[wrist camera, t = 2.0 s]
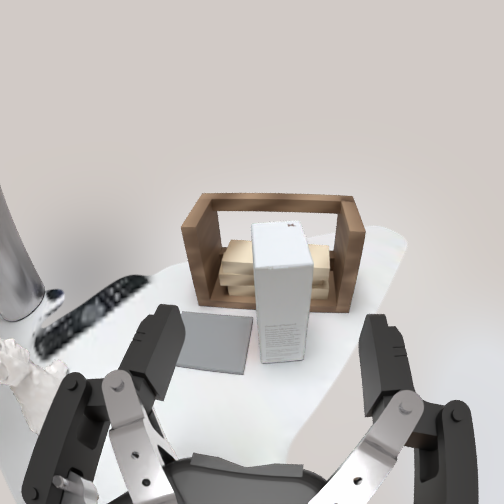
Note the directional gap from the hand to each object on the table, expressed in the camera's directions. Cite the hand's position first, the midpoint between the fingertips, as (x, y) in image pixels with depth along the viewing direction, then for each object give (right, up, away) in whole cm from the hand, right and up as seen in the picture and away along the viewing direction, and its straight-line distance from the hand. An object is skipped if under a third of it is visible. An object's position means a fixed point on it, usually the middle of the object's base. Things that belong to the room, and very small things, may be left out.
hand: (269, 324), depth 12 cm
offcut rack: (+2, -2, +22) cm, 23 cm away
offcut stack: (+2, -1, +22) cm, 22 cm away
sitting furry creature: (-19, -13, +9) cm, 25 cm away
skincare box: (+2, -6, +17) cm, 18 cm away
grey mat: (-5, -6, +17) cm, 19 cm away
